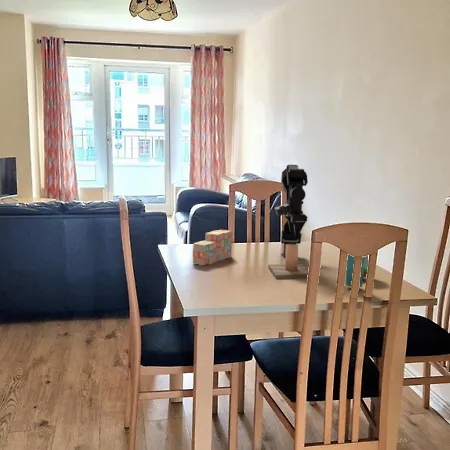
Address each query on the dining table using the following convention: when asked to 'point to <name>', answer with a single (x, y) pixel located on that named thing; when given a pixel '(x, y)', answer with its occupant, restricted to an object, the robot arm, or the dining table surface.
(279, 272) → the tan flat square block
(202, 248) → the stack of blocks
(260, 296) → the dining table surface
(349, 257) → the beverage bottle
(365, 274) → the food container
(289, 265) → the terracotta cylinder
